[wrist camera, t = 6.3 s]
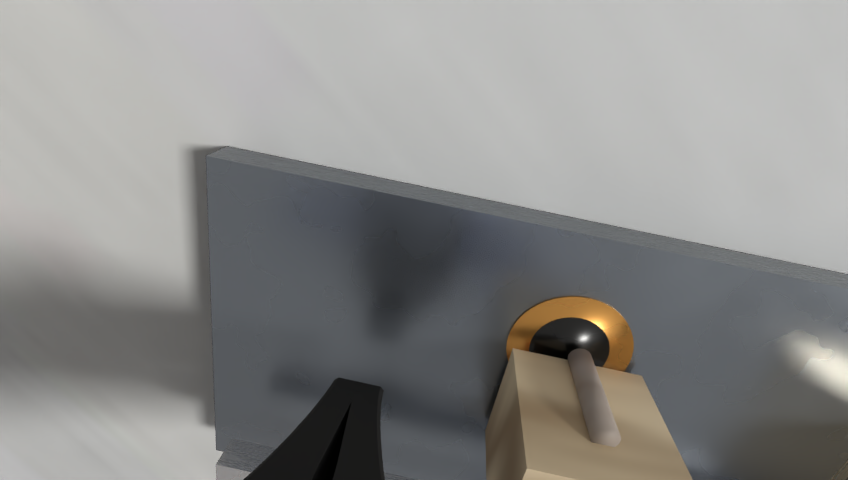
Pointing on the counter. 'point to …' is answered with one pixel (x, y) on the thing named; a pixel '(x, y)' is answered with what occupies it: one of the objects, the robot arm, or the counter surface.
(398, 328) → the bolt plate
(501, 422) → the trammel slider
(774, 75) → the counter surface
